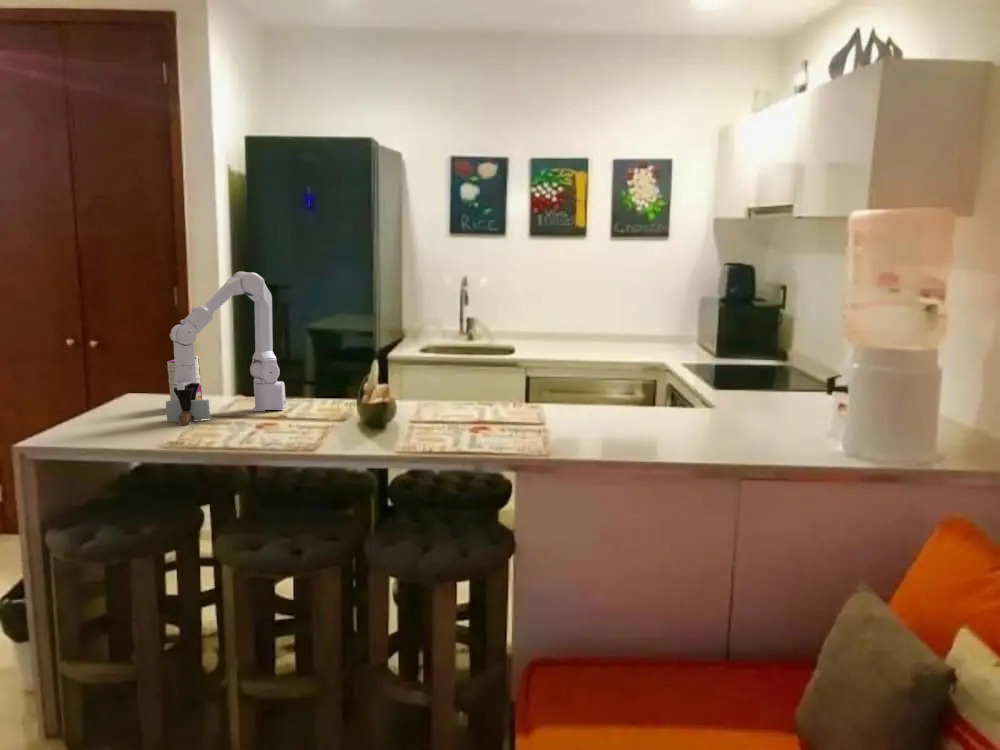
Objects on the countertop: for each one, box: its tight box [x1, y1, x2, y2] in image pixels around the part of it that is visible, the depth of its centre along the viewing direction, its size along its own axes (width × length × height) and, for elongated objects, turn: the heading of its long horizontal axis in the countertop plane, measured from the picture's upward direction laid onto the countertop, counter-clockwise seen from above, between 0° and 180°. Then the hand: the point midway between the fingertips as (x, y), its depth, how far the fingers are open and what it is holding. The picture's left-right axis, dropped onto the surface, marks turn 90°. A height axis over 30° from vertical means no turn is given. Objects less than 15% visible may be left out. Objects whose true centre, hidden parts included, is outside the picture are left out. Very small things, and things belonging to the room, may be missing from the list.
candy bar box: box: [166, 355, 203, 401], centre depth 276 cm, size 11×5×16 cm, turn 168°
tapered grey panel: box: [165, 399, 211, 423], centre depth 260 cm, size 12×2×6 cm, turn 96°
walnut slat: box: [178, 412, 194, 427], centre depth 260 cm, size 2×14×3 cm, turn 6°
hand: (188, 409), depth 260 cm, fingers open, 5 cm apart
